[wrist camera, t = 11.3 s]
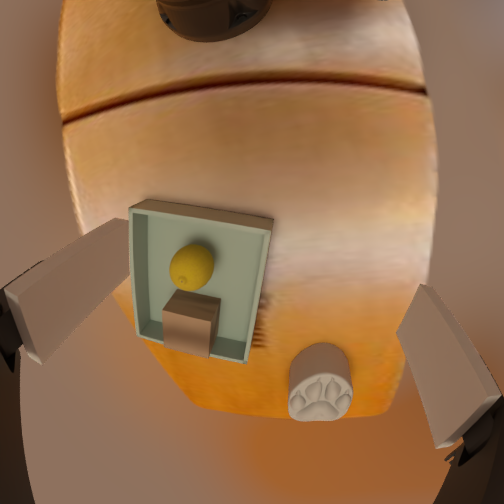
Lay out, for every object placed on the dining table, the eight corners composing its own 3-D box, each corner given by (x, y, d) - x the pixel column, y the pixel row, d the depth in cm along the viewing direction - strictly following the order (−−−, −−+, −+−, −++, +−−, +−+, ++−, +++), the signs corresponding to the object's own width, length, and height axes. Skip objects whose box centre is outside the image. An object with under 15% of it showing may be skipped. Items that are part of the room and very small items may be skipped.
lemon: (189, 275, 41) (169, 304, 33) (177, 240, 39) (153, 263, 31) (224, 269, 40) (210, 299, 32) (213, 232, 38) (195, 255, 30)
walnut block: (177, 288, 42) (161, 309, 36) (221, 298, 41) (210, 321, 36) (177, 324, 45) (163, 346, 39) (217, 333, 44) (208, 358, 39)
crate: (146, 199, 38) (128, 207, 33) (273, 219, 36) (271, 230, 32) (149, 319, 46) (136, 336, 41) (251, 343, 45) (246, 364, 40)
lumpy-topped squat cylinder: (288, 392, 48) (285, 428, 41) (291, 342, 44) (289, 381, 36) (341, 391, 47) (345, 427, 39) (353, 342, 42) (362, 379, 34)
